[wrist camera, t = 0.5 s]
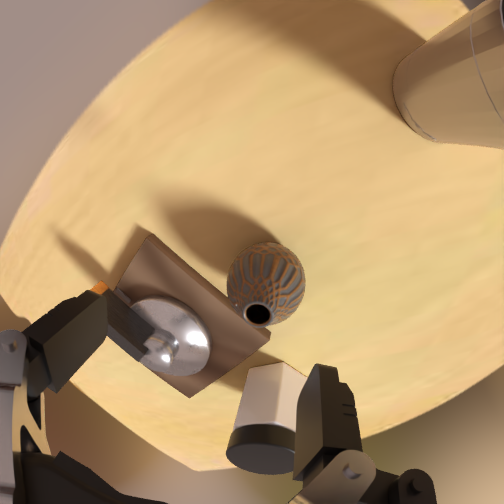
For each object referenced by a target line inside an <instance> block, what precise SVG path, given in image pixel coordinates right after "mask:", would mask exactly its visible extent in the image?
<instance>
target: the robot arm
mask: <svg viewBox="0 0 504 504" xmlns="http://www.w3.org/2000/svg"><path fill="white" fill-rule="evenodd" d="M393 93H394V99H395V102H396V105H397V108H398V109H399V111H400V113H401V115H402V117H403V118H404V120H405V121H406V122H407V124H408V125H409V126H410V127H411V128H412V129H413V130H414V131H415V132H416V133H418V134H419V135H421V136H422V137H424V138H426V139H428V140H430V141H433V142H439V143H449V144H460V145H472V146H482V147H490V148H499V149H504V0H486V1H484V2H483V3H481V4H480V5H478V6H477V7H476V8H474V9H473V10H471V11H470V12H468V13H467V14H465V15H464V16H462V17H461V18H459V19H458V20H456V21H455V22H453V23H452V24H451V25H449V26H448V27H446V28H445V29H443V30H442V31H441V32H439V33H438V34H437V35H435V36H434V37H432V38H431V39H430V40H428V41H427V42H426V43H424V44H423V45H422V46H420V47H419V48H417V49H416V50H415V51H413V52H412V53H411V54H409V55H408V56H407V57H405V58H404V59H403V60H402V61H401V62H400V63H399V65H398V67H397V68H396V70H395V74H394V77H393ZM107 331H108V321H107V299H106V297H105V296H103V295H100V294H98V293H96V292H93V291H91V290H86V291H85V292H84V293H82V294H81V295H79V296H78V297H77V298H76V297H73V298H70V299H67V300H64V301H62V302H61V303H59V304H58V305H57V306H55V307H54V309H51V310H50V311H49V312H48V313H47V314H45V315H43V316H42V317H41V318H39V319H38V320H37V321H35V322H34V323H33V324H32V325H30V326H29V327H28V328H26V329H25V330H24V331H23V332H20V331H17V330H5V331H2V332H0V504H168V503H165V502H161V501H154V500H148V499H143V498H138V497H132V496H128V495H124V494H121V493H119V492H118V491H116V490H115V489H114V488H113V487H111V486H110V485H109V484H108V483H106V482H105V481H104V480H103V479H101V478H100V477H99V476H98V475H96V474H95V473H94V472H93V471H92V470H91V469H89V468H88V467H85V466H84V465H82V464H81V463H79V462H77V461H75V460H74V459H72V458H71V457H69V456H67V455H66V454H64V453H63V452H61V451H60V452H59V453H58V455H57V456H56V457H55V456H51V452H50V449H49V446H48V443H47V440H46V434H45V415H44V393H43V391H44V390H45V389H46V387H48V388H49V389H51V390H52V391H54V392H55V393H58V391H59V390H60V389H61V388H62V387H63V386H64V384H66V382H67V381H68V380H69V379H70V378H71V377H72V376H73V375H74V374H75V372H76V371H77V370H78V369H79V368H80V367H81V366H82V365H83V364H84V363H85V361H86V360H87V359H88V358H89V357H90V356H91V355H92V354H93V353H94V352H95V351H96V350H97V348H98V347H99V346H100V345H101V344H102V343H103V342H104V340H105V338H106V336H107ZM356 416H357V412H356V408H355V400H354V395H353V393H352V391H351V390H350V388H349V387H348V385H347V384H346V383H341V382H339V377H338V370H337V368H336V367H332V366H327V365H322V364H315V365H314V367H313V369H312V371H311V373H310V375H309V377H308V379H307V380H306V382H305V384H304V386H303V388H302V390H301V392H300V395H299V398H298V401H297V410H296V433H295V452H294V469H293V480H297V481H303V489H302V490H301V491H300V492H299V493H298V494H297V495H296V496H294V497H293V498H292V499H291V500H290V501H289V502H288V503H287V504H437V501H436V495H435V489H434V485H433V481H432V479H431V478H430V476H429V475H428V474H427V473H425V472H424V471H422V470H419V469H410V470H407V471H405V472H404V473H403V474H402V475H400V476H398V475H394V474H391V473H387V472H384V471H380V470H378V469H376V467H375V464H374V462H373V461H372V459H371V458H370V457H369V456H367V455H366V454H365V453H363V451H362V444H361V437H360V430H359V424H358V418H357V417H356Z"/></svg>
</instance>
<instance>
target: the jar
mask: <svg viewBox="0 0 504 504" xmlns="http://www.w3.org/2000/svg"><path fill="white" fill-rule="evenodd" d="M307 379H308V378H307V377H306V376H304V375H303V374H301V373H300V372H298V371H296V370H295V369H293V368H292V367H290V366H289V365H287V364H286V363H284V362H280V363H275V364H270V365H264V366H259V367H253V368H250V369H249V371H248V375H247V379H246V382H245V386H244V390H243V394H242V397H241V401H240V405H239V408H238V412H237V416H236V419H235V423H234V428H233V432H232V434H231V436H230V440H229V443H228V447H227V450H226V456H227V458H228V460H229V461H230V462H231V463H232V464H234V465H235V466H237V467H239V468H241V469H244V470H247V471H249V472H253V473H258V474H268V475H270V474H271V475H274V474H275V475H276V474H284V473H289V472H292V471H293V469H294V452H295V433H296V410H297V401H298V398H299V395H300V392H301V390H302V388H303V386H304V384H305V382H306V380H307Z"/></svg>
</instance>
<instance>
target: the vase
mask: <svg viewBox="0 0 504 504" xmlns="http://www.w3.org/2000/svg"><path fill="white" fill-rule="evenodd" d="M304 292H305V274H304V270H303V267H302V265H301V263H300V261H299V259H298V258H297V256H296V255H295V254H294V253H293V252H292V251H290V250H289V249H288V248H286V247H284V246H282V245H280V244H276V243H271V242H264V243H258V244H255V245H252V246H250V247H248V248H247V249H245V250H244V251H242V252H241V253H240V254H239V255H238V257H237V258H236V259H235V260H234V262H233V264H232V265H231V267H230V270H229V273H228V277H227V294H228V298H229V301H230V304H231V306H232V307H233V309H234V310H235V312H236V313H237V314H238V315H239V316H240V317H242V318H243V319H244V321H245V322H246V323H247V324H249V325H250V326H253V327H256V328H262V327H266V326H268V325H274V324H277V323H280V322H282V321H284V320H286V319H287V318H288V317H290V316H291V315H292V314H293V313H294V312H295V311H296V309H297V308H298V306H299V305H300V303H301V301H302V298H303V296H304Z"/></svg>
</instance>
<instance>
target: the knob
mask: <svg viewBox="0 0 504 504" xmlns="http://www.w3.org/2000/svg"><path fill="white" fill-rule="evenodd" d="M91 291H93V292H96V293H98V294H100V295H103V296H105V297H106V299H107V321H108V331H107V336H108V337H109V338H110V339H111V340H113V341H114V342H115V343H116V344H117V345H118V346H120V347H121V348H122V349H123V350H124V351H125V352H127V353H128V354H129V355H130V356H132V357H133V358H134V359H135V360H136V361H138V362H139V361H141V362H142V363H143V364H144V365H145V366H146V367H148V368H149V369H151V370H154V371H157V372H163V373H166V374H169V375H174V376H188V375H192V374H195V373H197V372H199V371H200V370H201V369H203V368H204V366H205V365H206V363H207V361H208V358H209V356H210V354H211V351H212V338H211V334H210V332H209V329H208V328H207V326H206V324H205V323H204V321H203V320H202V319H201V317H200V316H199V315H198V314H197V313H196V312H195V311H194V310H192V309H191V308H190V307H188V306H187V305H185V304H184V303H182V302H180V301H178V300H176V299H174V298H171V297H167V296H163V295H149V296H145V297H142V298H140V299H139V300H137V301H136V302H135V303H134V304H133V305H132V306H131V307H129V306H128V305H127V304H126V303H124V302H123V301H122V300H121V299H120V298H119V297H118V296H117V295H116V294H115V293H113V292H112V291H111V290H110V289H109V287H108V286H107V285H106V284H105V283H104V282H103V281H101V282H99V283H98V284H97V285H96V286H94V287H93V288H92V289H91Z"/></svg>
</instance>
